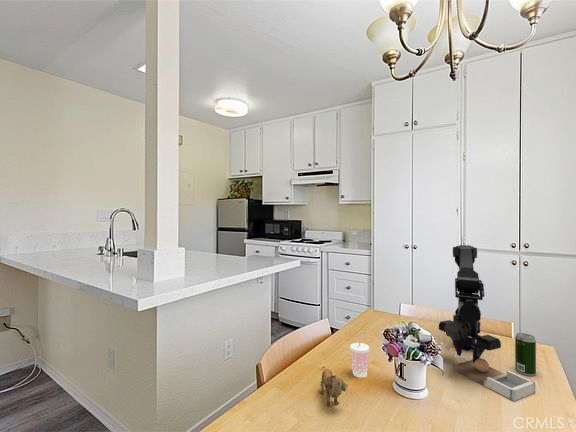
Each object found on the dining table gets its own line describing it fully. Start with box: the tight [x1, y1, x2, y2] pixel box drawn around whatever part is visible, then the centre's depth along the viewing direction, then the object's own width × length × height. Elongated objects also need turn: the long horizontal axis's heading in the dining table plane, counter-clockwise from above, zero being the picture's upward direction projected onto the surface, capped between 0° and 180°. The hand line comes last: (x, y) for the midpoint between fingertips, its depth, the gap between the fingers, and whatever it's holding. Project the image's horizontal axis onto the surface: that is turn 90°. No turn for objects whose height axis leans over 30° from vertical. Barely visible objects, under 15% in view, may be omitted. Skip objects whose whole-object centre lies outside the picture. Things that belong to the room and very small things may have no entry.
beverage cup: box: [350, 331, 370, 379], centre depth 101 cm, size 6×6×14 cm
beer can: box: [514, 332, 537, 377], centre depth 100 cm, size 5×5×12 cm
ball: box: [474, 357, 490, 372], centre depth 99 cm, size 4×4×4 cm
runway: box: [452, 359, 507, 388], centre depth 99 cm, size 12×10×2 cm
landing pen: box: [486, 370, 536, 402], centre depth 91 cm, size 8×10×3 cm
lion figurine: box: [319, 368, 349, 408], centre depth 88 cm, size 15×5×9 cm, turn 16°
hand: (466, 359), depth 103 cm, fingers open, 5 cm apart
